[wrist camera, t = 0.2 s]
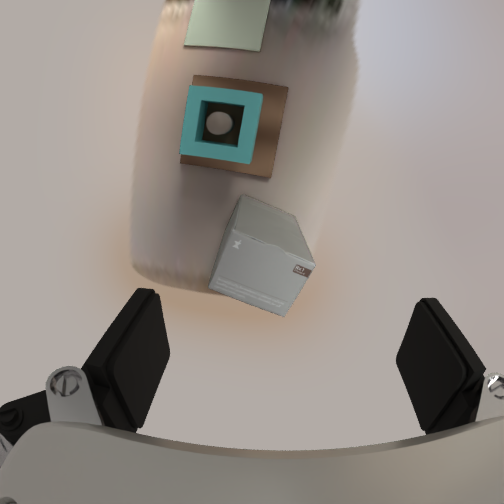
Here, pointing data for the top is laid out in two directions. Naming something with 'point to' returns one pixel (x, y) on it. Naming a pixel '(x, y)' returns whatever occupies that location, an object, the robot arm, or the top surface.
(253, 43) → the mat
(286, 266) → the skincare box
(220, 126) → the stand
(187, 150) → the ring
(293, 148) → the top surface
